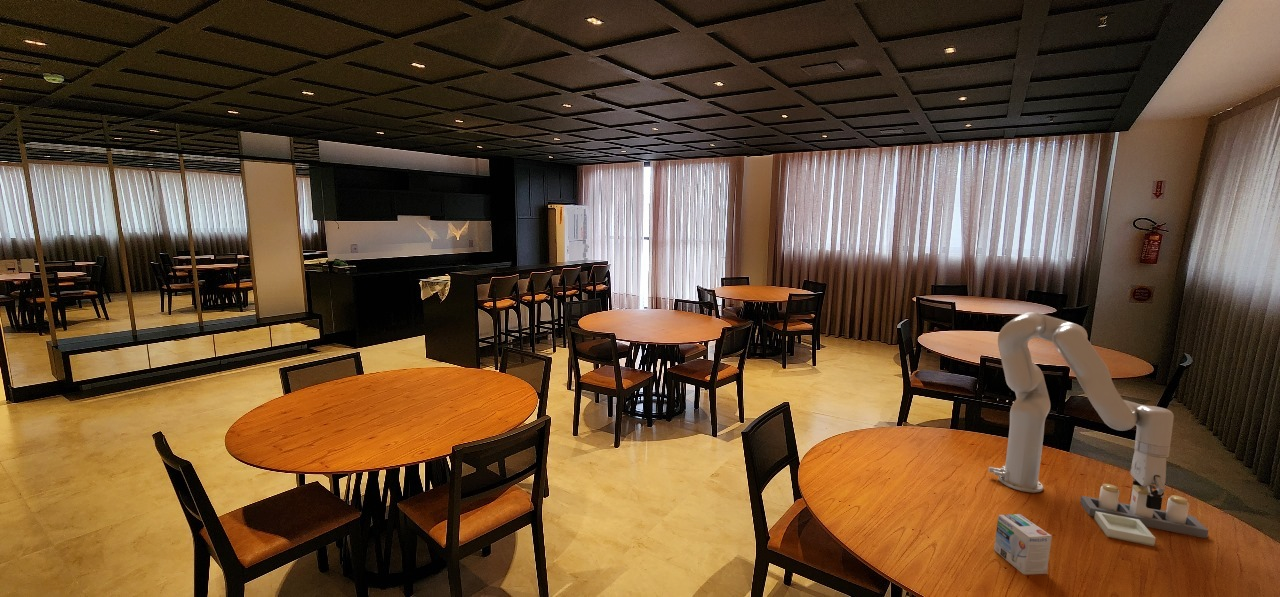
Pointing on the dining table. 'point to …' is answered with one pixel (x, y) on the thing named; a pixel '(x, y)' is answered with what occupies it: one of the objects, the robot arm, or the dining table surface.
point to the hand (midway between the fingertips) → (1145, 501)
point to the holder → (1156, 521)
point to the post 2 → (1177, 509)
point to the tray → (1124, 528)
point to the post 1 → (1108, 497)
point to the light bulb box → (1022, 544)
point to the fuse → (1140, 502)
